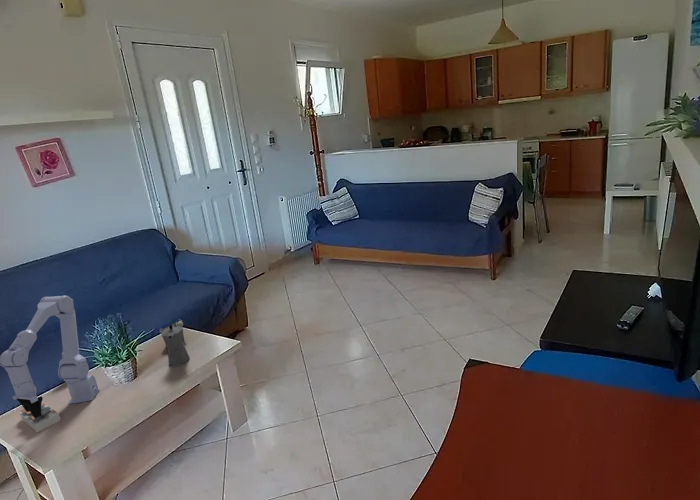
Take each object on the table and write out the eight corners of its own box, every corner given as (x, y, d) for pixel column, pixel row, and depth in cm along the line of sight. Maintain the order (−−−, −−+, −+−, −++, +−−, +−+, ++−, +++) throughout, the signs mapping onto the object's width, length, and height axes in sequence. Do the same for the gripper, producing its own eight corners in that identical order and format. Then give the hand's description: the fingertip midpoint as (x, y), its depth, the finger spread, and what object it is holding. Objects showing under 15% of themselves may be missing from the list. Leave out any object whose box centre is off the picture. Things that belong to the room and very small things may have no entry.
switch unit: (44, 407, 181) (42, 401, 180) (60, 419, 172) (58, 412, 171) (22, 419, 175) (19, 412, 174) (37, 432, 166) (34, 425, 165)
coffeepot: (188, 365, 201) (179, 328, 196) (166, 370, 199) (156, 333, 194) (191, 349, 215) (183, 315, 210) (171, 354, 214) (162, 319, 209)
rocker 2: (42, 408, 175) (42, 404, 175) (46, 411, 173) (46, 407, 173) (24, 414, 171) (24, 410, 170) (28, 417, 168) (27, 413, 168)
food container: (171, 349, 218) (166, 330, 216) (163, 347, 222) (158, 329, 219) (192, 338, 228) (187, 320, 225) (184, 336, 231) (179, 318, 229)
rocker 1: (37, 401, 178) (35, 398, 177) (41, 403, 176) (38, 401, 175) (22, 413, 174) (20, 410, 174) (26, 415, 172) (23, 413, 171)
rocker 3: (48, 410, 172) (46, 406, 172) (51, 413, 170) (50, 409, 170) (30, 419, 168) (29, 416, 167) (34, 422, 166) (32, 419, 165)
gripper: (1, 381, 161) (14, 413, 165) (15, 392, 152) (28, 426, 156) (24, 371, 166) (36, 403, 170) (39, 381, 158) (51, 414, 161)
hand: (34, 413), depth 164 cm, fingers open, 7 cm apart
